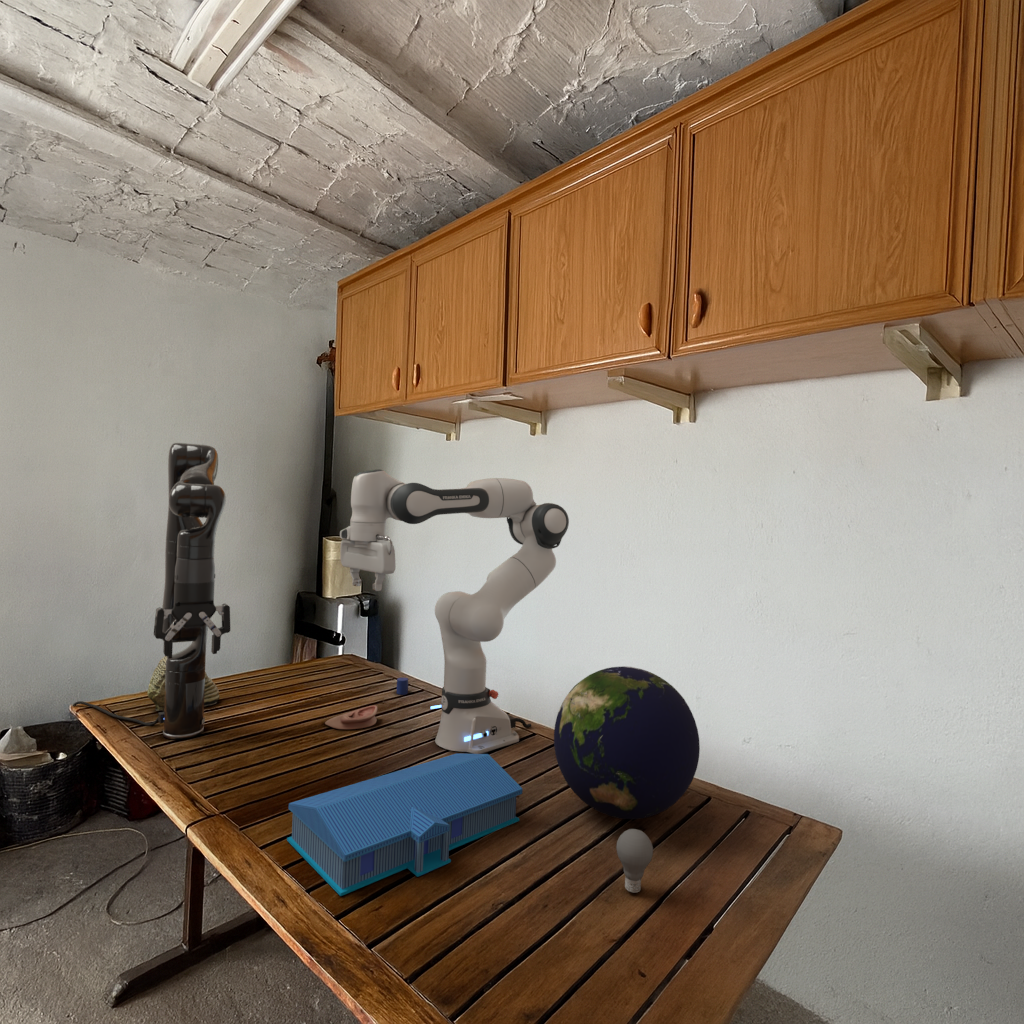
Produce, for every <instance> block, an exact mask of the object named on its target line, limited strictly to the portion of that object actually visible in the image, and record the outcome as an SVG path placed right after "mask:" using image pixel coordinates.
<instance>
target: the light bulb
mask: <svg viewBox="0 0 1024 1024" xmlns="http://www.w3.org/2000/svg"><path fill="white" fill-rule="evenodd" d="M615 849H616V854H617V857H618V859H619V861H620V863H621V865H622V867H623V873H624V874H623V875H624V876H625V878H624V888H625V890H627V891H628V892H630V893H634V894H635V893H639V892H640V891H641V889H642V887H641V886H642V879H643V877H644V875H645V871H646V868H647V867H648V866H649V864H650V863H651V861H652V859H653V855H654V847H653V843H652V841H651V838H649V836H648V835H647V834H646V833H645V832H643V831H642V830H641V829H636V828H629V829H627V830H625V831H623V832H622V833H621V834H620V835H619V837H618V839H617V841H616V847H615Z"/></svg>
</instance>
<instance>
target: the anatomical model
mask: <svg viewBox="0 0 1024 1024" xmlns="http://www.w3.org/2000/svg"><path fill="white" fill-rule="evenodd" d="M377 713H378V706H377V705H375V704H374V705H369V706H368V705H367V706H366V707H361V708H358V709H355V710H351V711H349V712H346V713H343V714H339V715H336V716H334V717H331V718H329V719H327V720H326V721H325V722H324V724H325V725H326V726H328V727H330V728H333V729H337V730H356V729H357V730H358V729H363V728H369V727H372V726H374V725H376V723H377V721H378V719H377V717H376V715H377Z"/></svg>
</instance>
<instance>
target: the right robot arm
mask: <svg viewBox="0 0 1024 1024" xmlns="http://www.w3.org/2000/svg"><path fill="white" fill-rule="evenodd" d="M350 491H351V493H350V507H351V517H350V523H349V525H348V526H347V527H345V528H343V529H341V530H340V531H339V538H340V539H341V542H340V549H339V550H340V554H339V555H340V556H339V557H340V564H341V566H342V567H343V568H349V574H350V577H351V582H352V583H351V585H352V586H354V587H361V586H362V578H361V577H360V571H364V572H370V573H374V577H375V580H374V583H372V591H375V592H380V591H382V589H383V583H384V581H385V579H386V575H391V574H394V573H395V571H396V567H397V566H396V565H397V563H396V551H395V547H394V544H393V541H392V539H391V538H390V536H388V535H387V520H388V518H390V519H393V520H395V521H398V522H399V521H400V522H404V523H406V524H408V525H418V524H421V523H424V522H426V521H428V520H429V519H431V518H433V517H436V516H439V515H452V514H468V515H469V516H471V517H472V518H478V519H502V518H505V519H506V523H507V525H508V531H509V534H510V536H511V538H512V540H513V541H514V542H516V543H517V544H519V545H521V548H520V549H518V551H517V552H516V553H515V554H513V555H512V556H510V557H509V558H507V559H506V560H505V561H504V562H502V563H501V564H499V565H498V566H497V567H496V568H494V569H493V570H491V571H490V572H489V573H488V574H487V576H486V581H485V582H484V584H483V585H482V586H481V588H480V589H478V591H476V592H474V593H472V594H471V593H467V592H465V591H461V590H459V591H458V590H457V591H450V592H446V593H444V594H442V595H441V596H440V597H439V598H438V599H437V600H436V603H435V605H434V615H435V618H436V620H437V623H438V625H439V630H440V636H441V642H442V650H443V656H444V657H443V658H444V659H443V660H444V664H443V665H444V667H443V669H444V670H443V687H442V688H441V700H440V704H439V705H432V706H430V710H434V709H440V708H441V714H440V721H439V726H438V730H437V733H436V737H435V740H434V742H435V744H436V745H437V746H439V747H440V748H442V749H445V750H448V751H453V752H461V753H462V752H463V753H468V754H486V753H488V752H491V751H494V750H497V749H500V748H503V747H507V746H510V745H512V744H516V743H519V741H520V735H519V733H517V732H516V730H514V729H515V728H516V727H517V723H520V724H521V725H522V726H523V727H524V728H525V729H529V728H532V723H526V721H525V720H524V719H522V718H520V717H514V716H512V715H510V714H509V713H506V712H505V711H504V710H503V709H502V708H500V707H499V706H498V705H497V704H496V703H494V702H493V701H492V700H491V698H492V699H493V700H496V699H498V697H499V692H498V691H497V690H495V689H490V688H489V687H487V686H486V683H487V682H486V681H487V664H488V663H487V662H488V661H487V657H486V655H485V652H484V650H483V646H482V643H486V642H491V641H493V640H496V639H497V637H499V636H500V634H501V633H502V631H503V629H504V624H505V619H506V617H507V615H508V614H509V613H510V612H511V610H512V609H514V607H515V606H516V605H517V604H518V603H519V602H521V601H522V600H523V599H524V598H526V596H529V594H530V593H532V592H533V591H534V590H535V589H536V588H538V587H539V586H540V585H541V584H542V583H543V582H544V581H545V580H546V579H547V578H548V577H549V576H550V575H551V573H552V572H553V571H554V570H555V569H556V565H557V558H556V555H555V553H554V551H553V549H556V548H558V547H559V546H560V545H561V543H562V540H563V538H564V536H565V534H566V533H567V531H568V529H569V524H570V518H569V515H568V513H567V511H566V510H565V508H564V507H562V506H561V505H559V504H557V503H552V502H544V503H542V504H537V503H536V501H535V500H534V493H533V489H532V487H531V486H530V484H528V482H526V481H524V480H521V479H514V478H504V477H503V478H502V477H493V478H491V477H490V478H482V479H476V480H473V481H470V482H469V483H468V484H467V486H465V487H463V488H448V489H447V488H445V489H435V488H432V487H430V486H427V485H425V484H422V483H419V482H407V483H405V482H403V481H401V480H399V479H397V478H394V477H393V476H391V475H390V474H388V473H387V472H386V471H385V470H384V469H377V468H376V469H371V470H370V469H369V470H363V471H359V472H358V473H357V474H355V475H354V477H353V479H352V485H351V490H350Z"/></svg>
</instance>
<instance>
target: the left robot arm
mask: <svg viewBox="0 0 1024 1024" xmlns="http://www.w3.org/2000/svg"><path fill="white" fill-rule="evenodd" d="M218 471H219V455H218V451H217V450H216V448H214V446H211V445H207V444H198V443H187V442H186V443H185V442H174V443H172V444H171V445H170V447H169V451H168V457H167V480H168V482H167V483H168V484H167V485H168V487H167V489H168V507H167V508H168V510H167V519H166V521H167V522H166V533H165V534H166V535H165V549H164V550H165V553H164V554H165V555H164V556H165V557H164V560H165V561H164V562H165V563H164V588H163V595H162V597H163V598H162V607H161V606H159V607H157V608H156V609H155V617H154V626H153V636H154V638H155V639H157V640H161V641H163V651H162V653H163V655H164V657H165V656H167V660H166V674H165V705H164V710H163V711H160V712H159V711H158V713H157V714H158V716H157V718H156V719H155V720H154V721H152V722H145V721H142V720H140V719H137V718H133V717H127V716H122V715H118V714H115V713H113V712H110V711H108V710H107V709H104V708H102V707H100V706H99V705H95V704H92V703H90V702H87V701H79V700H78V701H76V702H74V703H73V704H72V705H71V706H72V707H76V706H78V705H84V706H87V707H89V708H94V709H97V710H98V711H100V712H101V713H103V714H106V715H108V716H110V717H112V718H115V719H119V720H124V721H128V722H134V723H137V724H140V725H141V726H147V727H151V726H155V725H156V724H157V723H160V724H163V730H162V737H164V738H166V739H169V740H185V739H190V738H191V739H192V738H194V737H197V736H199V735H202V734H203V732H204V730H205V729H204V727H205V725H204V724H205V722H206V717H205V706H204V693H205V672H206V664H207V663H206V660H207V659H206V658H207V657H206V656H207V640H208V631H209V630H210V631H211V633H213V634H212V635H211V651H210V652H211V654H213V655H217V654H218V652H220V650H221V638H222V636H223V635H225V634H228V633H230V632H231V606H230V605H228V604H227V603H222V604H220V605H215V579H216V565H215V548H216V547H215V545H216V544H215V543H216V535H217V530H218V526H219V523H220V520H221V517H222V515H223V511H224V510H225V506H226V502H227V496H226V493H225V491H224V489H223V488H222V487H221V486H220V485H217V484H215V481H216V478H217V475H218ZM201 518H202V519H204V518H205V522H204V523H203V522H202V520H201ZM216 612H217V613H218V615H219V616H221V626H220V627H217V626H216V624H215V623H214V621H212V617H213V616H214V615H215V613H216ZM208 629H209V630H208ZM189 642H191V643H190V645H188V646H187V647H186V648H184V649H183V650H180V651H179V652H178V651H177V652H175V653H173V643H175V644H176V643H177V644H178V643H189Z"/></svg>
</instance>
